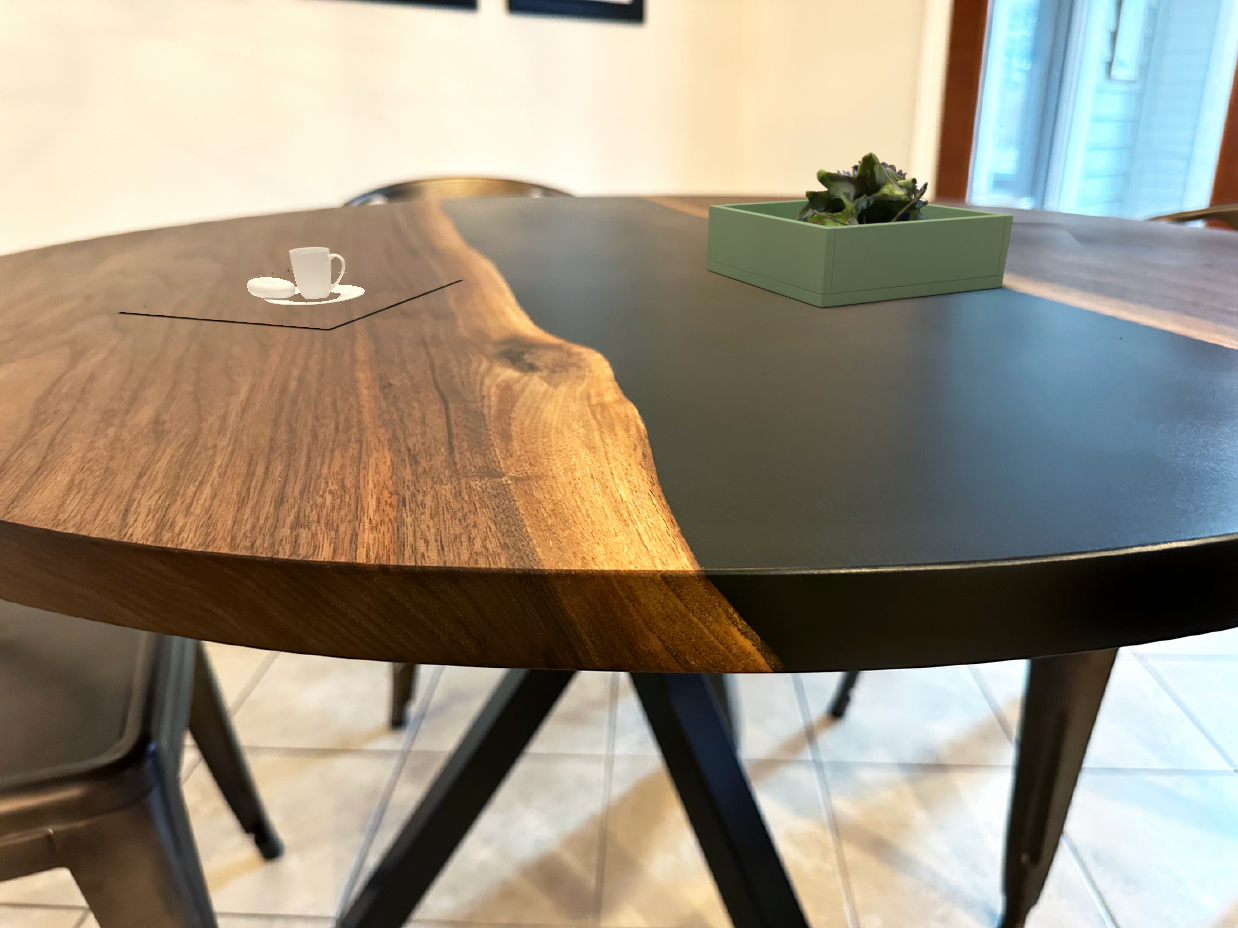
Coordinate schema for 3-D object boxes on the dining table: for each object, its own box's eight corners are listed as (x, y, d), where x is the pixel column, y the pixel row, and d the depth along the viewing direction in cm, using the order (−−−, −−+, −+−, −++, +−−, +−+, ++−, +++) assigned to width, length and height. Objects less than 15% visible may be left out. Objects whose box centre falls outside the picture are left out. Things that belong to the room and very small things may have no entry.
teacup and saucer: (235, 306, 68) (225, 255, 66) (299, 288, 75) (291, 241, 73) (326, 313, 65) (318, 260, 63) (384, 293, 72) (378, 245, 70)
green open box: (863, 255, 88) (870, 196, 85) (1002, 287, 72) (1014, 214, 69) (706, 269, 81) (708, 205, 79) (820, 307, 65) (827, 228, 63)
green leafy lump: (859, 318, 81) (947, 213, 77) (864, 323, 70) (966, 202, 67) (767, 246, 81) (849, 139, 78) (759, 241, 71) (853, 116, 67)
